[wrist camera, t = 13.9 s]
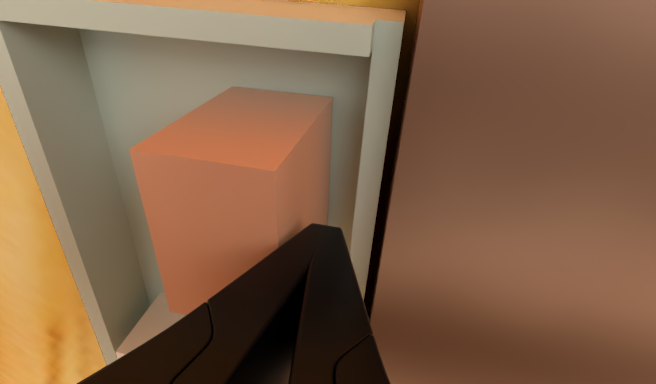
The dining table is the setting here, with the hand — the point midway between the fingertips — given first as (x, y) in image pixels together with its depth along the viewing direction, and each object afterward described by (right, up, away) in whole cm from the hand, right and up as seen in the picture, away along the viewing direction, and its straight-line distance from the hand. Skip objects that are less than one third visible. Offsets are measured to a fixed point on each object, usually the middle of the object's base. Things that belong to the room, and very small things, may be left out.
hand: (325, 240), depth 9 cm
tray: (-3, -2, +7) cm, 8 cm away
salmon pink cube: (0, +1, +1) cm, 1 cm away
